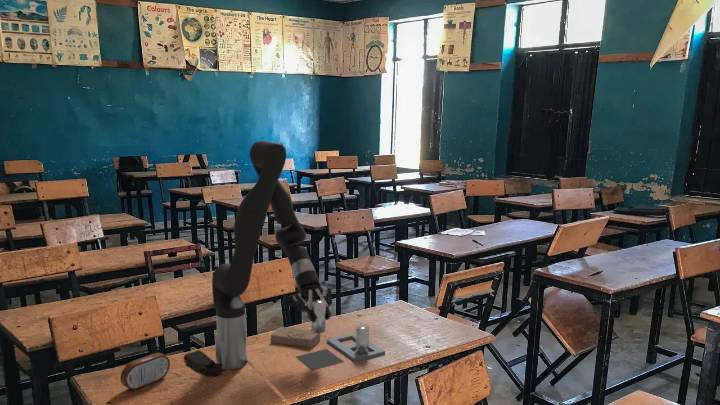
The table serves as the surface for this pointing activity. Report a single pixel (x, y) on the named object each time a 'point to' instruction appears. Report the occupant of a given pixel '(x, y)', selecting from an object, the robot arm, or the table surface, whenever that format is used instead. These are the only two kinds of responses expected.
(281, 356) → the table surface
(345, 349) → the grey slotted holder
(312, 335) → the brick
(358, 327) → the cylinder
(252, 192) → the robot arm
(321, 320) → the cylinder
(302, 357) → the mat
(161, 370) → the tin
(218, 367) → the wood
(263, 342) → the table surface
